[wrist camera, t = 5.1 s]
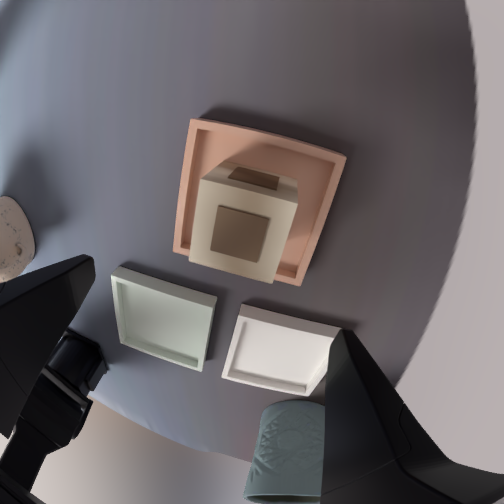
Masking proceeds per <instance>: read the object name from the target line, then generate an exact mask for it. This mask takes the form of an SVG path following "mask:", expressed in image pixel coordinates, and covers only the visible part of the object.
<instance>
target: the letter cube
mask: <svg viewBox="0 0 504 504" xmlns="http://www.w3.org/2000/svg"><path fill="white" fill-rule="evenodd" d="M297 205H298V188H297V179H295V178H291V177H287V176H284V175H280V174H277V173H273V172H269V171H265V170H261V169H257V168H253V167H249V166H245V165H241V164H237V163H233V162H228V161H223V162H221V163H220V164H219V165H217V166H216V167H215V168H213V169H212V170H211V171H210V172H208V173H207V174H206V175H205V176H203V177H202V178H201V179H200V184H199V190H198V197H197V203H196V210H195V217H194V224H193V231H192V239H191V246H190V255H189V261H190V262H194V263H197V264H201V265H204V266H208V267H211V268H215V269H219V270H222V271H226V272H229V273H233V274H237V275H240V276H244V277H248V278H251V279H255V280H259V281H262V282H266V283H270V284H272V283H273V280H274V277H275V274H276V271H277V268H278V265H279V262H280V259H281V256H282V253H283V249H284V246H285V243H286V240H287V237H288V234H289V231H290V228H291V225H292V221H293V218H294V215H295V212H296V209H297Z"/></svg>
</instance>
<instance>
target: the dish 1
mask: <svg viewBox="0 0 504 504" xmlns="http://www.w3.org/2000/svg"><path fill="white" fill-rule="evenodd" d="M111 281H112V290H113V299H114V306H115V314H116V320H117V327H118V333H119V338H120V343H122V344H124V345H127V346H129V347H132V348H134V349H137V350H139V351H142V352H144V353H147V354H150V355H152V356H155V357H158V358H161V359H163V360H166V361H169V362H172V363H175V364H178V365H181V366H184V367H187V368H190V369H194V370H197V371H200V372H202V370H203V367H204V364H205V361H206V355H207V349H208V344H209V338H210V333H211V328H212V322H213V317H214V312H215V307H216V301H217V297H216V296H213V295H209V294H206V293H202V292H199V291H196V290H192V289H189V288H186V287H182V286H179V285H176V284H173V283H169V282H166V281H163V280H160V279H157V278H154V277H151V276H148V275H144V274H141V273H138V272H135V271H132V270H129V269H126V268H124V267H121V266H119V267H118V268H117V269H116V270H115V271H114V272H113V273H112V274H111Z"/></svg>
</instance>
